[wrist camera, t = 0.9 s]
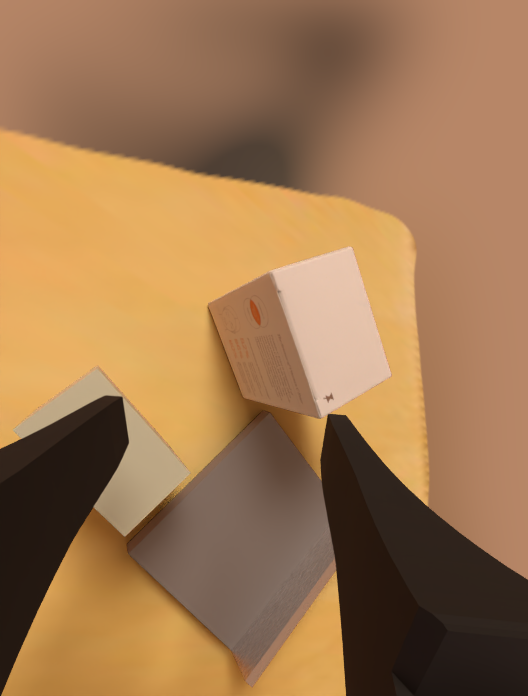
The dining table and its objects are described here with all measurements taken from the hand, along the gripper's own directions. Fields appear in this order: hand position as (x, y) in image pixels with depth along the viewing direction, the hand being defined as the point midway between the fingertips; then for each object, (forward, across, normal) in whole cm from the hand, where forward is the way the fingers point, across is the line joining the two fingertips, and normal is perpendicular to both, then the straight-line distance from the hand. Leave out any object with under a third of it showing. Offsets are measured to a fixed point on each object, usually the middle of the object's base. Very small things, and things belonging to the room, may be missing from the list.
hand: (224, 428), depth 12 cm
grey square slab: (+8, 0, +16) cm, 18 cm away
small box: (+15, 0, +3) cm, 15 cm away
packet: (+8, +9, +7) cm, 14 cm away
